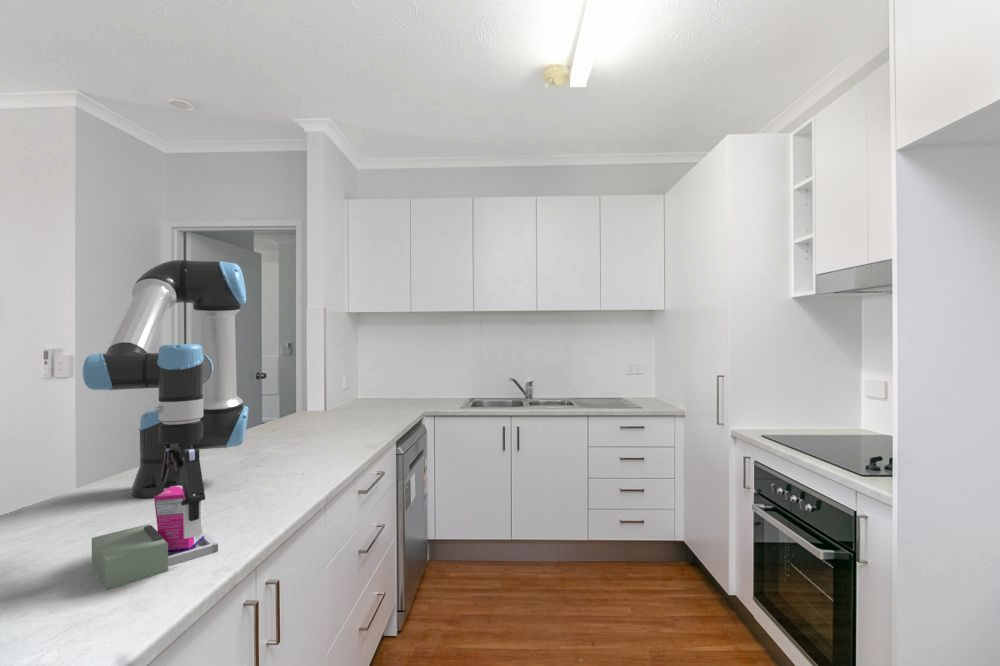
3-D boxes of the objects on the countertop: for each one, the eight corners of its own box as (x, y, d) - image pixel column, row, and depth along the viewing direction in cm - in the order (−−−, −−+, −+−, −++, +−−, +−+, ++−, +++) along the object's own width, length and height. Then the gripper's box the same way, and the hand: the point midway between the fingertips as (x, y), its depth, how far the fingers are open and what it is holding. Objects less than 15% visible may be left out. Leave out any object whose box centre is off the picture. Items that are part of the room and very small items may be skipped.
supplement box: (175, 540, 100) (170, 485, 100) (205, 537, 101) (201, 483, 100) (157, 554, 95) (153, 496, 94) (189, 551, 95) (185, 493, 95)
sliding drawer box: (91, 564, 93) (91, 534, 93) (198, 535, 106) (198, 509, 106) (106, 589, 83) (106, 556, 83) (221, 554, 97) (221, 525, 97)
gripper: (143, 416, 103) (143, 516, 103) (177, 431, 87) (178, 551, 87) (183, 412, 109) (184, 507, 109) (223, 425, 92) (224, 538, 92)
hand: (181, 527), depth 98 cm, fingers open, 13 cm apart
